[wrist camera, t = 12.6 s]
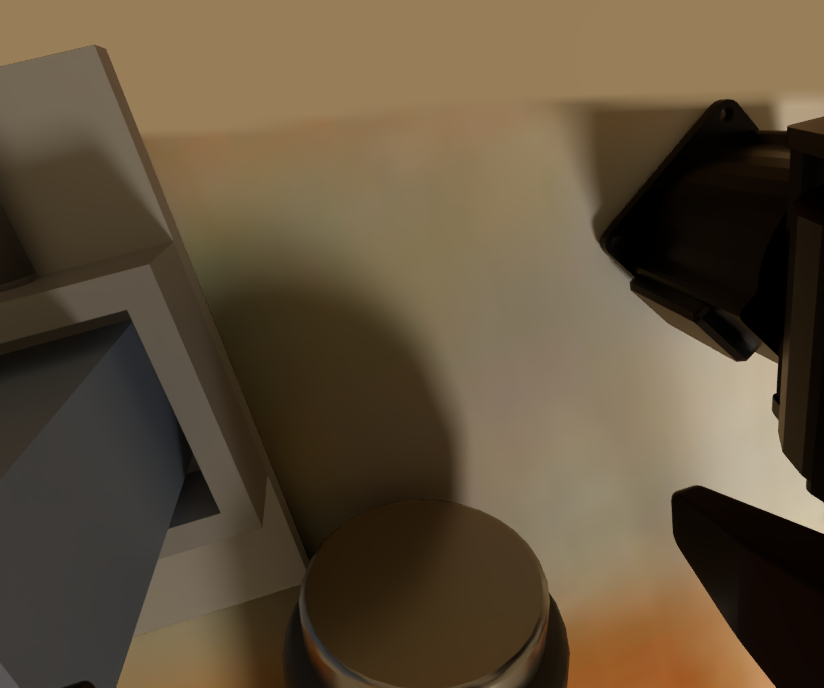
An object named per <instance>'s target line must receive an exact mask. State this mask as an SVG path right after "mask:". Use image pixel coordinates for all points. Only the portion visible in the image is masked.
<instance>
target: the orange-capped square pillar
mask: <svg viewBox="0 0 824 688" xmlns="http://www.w3.org/2000/svg"><path fill="white" fill-rule="evenodd" d="M192 455H193V452H192V450H191V447H190V445H189V443H188V441H187V439H186V436H185V434H184V432H183V430H182V428H181V426H180V423H179V421H178V419H177V417H176V415H175V413H174V410H173V408H172V406H171V404H170V402H169V400H168V397H167V395H166V393H165V391H164V389H163V387H162V384H161V382H160V380H159V378H158V376H157V373H156V371H155V369H154V367H153V365H152V363H151V360H150V358H149V356H148V354H147V352H146V350H145V347H144V345H143V343H142V341H141V339H140V337H139V334H138V332H137V330H136V328H135V326H134V324H133V321H132V319H130V320H126V321H122V322H119V323H115V324H111V325H108V326H104V327H100V328H97V329H93V330H90V331H86V332H82V333H79V334H75V335H71V336H68V337H64V338H60V339H57V340H53V341H50V342H46V343H42V344H39V345H35V346H31V347H28V348H24V349H20V350H17V351H13V352H9V353H6V354H2V355H0V688H61V687H64V686H68V685H71V684H74V683H77V682H80V681H86V680H87V681H89V682H91V683H93V684H94V686H95V687H96V688H116V686H117V683H118V680H119V677H120V674H121V671H122V668H123V665H124V662H125V659H126V656H127V652H128V649H129V646H130V643H131V640H132V637H133V634H134V631H135V628H136V625H137V622H138V619H139V616H140V613H141V610H142V607H143V604H144V601H145V598H146V595H147V592H148V589H149V586H150V582H151V579H152V576H153V573H154V570H155V567H156V564H157V561H158V558H159V555H160V552H161V549H162V546H163V543H164V540H165V537H166V534H167V531H168V528H169V525H170V522H171V519H172V515H173V512H174V509H175V506H176V503H177V500H178V497H179V494H180V491H181V488H182V485H183V482H184V479H185V476H186V473H187V470H188V467H189V464H190V461H191V458H192Z"/></svg>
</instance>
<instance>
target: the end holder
mask: <svg viewBox="0 0 824 688" xmlns="http://www.w3.org/2000/svg"><path fill="white" fill-rule="evenodd" d="M130 319H132V321H133V324H134V326H135V328H136V330H137V332H138V334H139V337H140V339H141V341H142V343H143V345H144V347H145V350H146V352H147V354H148V356H149V358H150V360H151V363H152V365H153V367H154V369H155V371H156V373H157V376H158V378H159V380H160V382H161V384H162V387H163V389H164V391H165V393H166V395H167V397H168V400H169V402H170V404H171V406H172V408H173V410H174V413H175V415H176V417H177V419H178V421H179V423H180V426H181V428H182V430H183V432H184V434H185V436H186V439H187V441H188V443H189V445H190V447H191V450H192V452H193V455H192V458H191V461H190V464H189V467H188V470H187V473H186V476H185V479H184V482H183V485H182V488H181V491H180V494H179V497H178V500H177V503H176V506H175V509H174V512H173V515H172V519H171V522H170V525H169V528H168V531H167V534H166V537H165V540H164V543H163V546H162V549H161V552H160V555H159V558H158V561H157V564H156V567H155V570H154V573H153V576H152V579H151V582H150V586H149V589H148V592H147V595H146V598H145V601H144V604H143V607H142V610H141V613H140V616H139V619H138V622H137V625H136V628H135V631H134V634H133V637H135V636H139V635H142V634H145V633H148V632H151V631H155V630H158V629H161V628H164V627H167V626H171V625H174V624H177V623H180V622H183V621H186V620H190V619H193V618H196V617H199V616H202V615H206V614H209V613H212V612H215V611H218V610H222V609H225V608H228V607H231V606H234V605H238V604H241V603H244V602H247V601H250V600H253V599H257V598H260V597H263V596H266V595H269V594H273V593H276V592H279V591H282V590H285V589H289V588H292V587H295V586H298V585H301V582H302V580H303V577H304V574H305V572H306V569H307V567H308V564H309V559H308V557H307V554H306V551H305V549H304V546H303V544H302V541H301V539H300V536H299V534H298V531H297V529H296V526H295V524H294V521H293V519H292V516H291V514H290V511H289V509H288V506H287V504H286V501H285V499H284V496H283V494H282V491H281V488H280V486H279V483H278V481H277V478H276V476H275V473H274V471H273V468H272V466H271V463H270V461H269V458H268V456H267V453H266V451H265V448H264V446H263V443H262V441H261V438H260V436H259V433H258V431H257V428H256V426H255V423H254V420H253V418H252V415H251V413H250V410H249V408H248V405H247V403H246V400H245V398H244V395H243V393H242V390H241V388H240V385H239V383H238V380H237V378H236V375H235V373H234V370H233V368H232V365H231V363H230V360H229V358H228V355H227V352H226V350H225V347H224V345H223V342H222V340H221V337H220V335H219V332H218V330H217V327H216V325H215V322H214V320H213V317H212V315H211V312H210V310H209V307H208V305H207V302H206V300H205V297H204V295H203V292H202V289H201V287H200V284H199V282H198V279H197V277H196V274H195V272H194V269H193V267H192V264H191V262H190V259H189V257H188V254H187V252H186V249H185V247H184V244H183V242H182V239H181V237H180V234H179V232H178V229H177V227H176V224H175V221H174V219H173V216H172V214H171V211H170V209H169V206H168V204H167V201H166V199H165V196H164V194H163V191H162V189H161V186H160V184H159V181H158V179H157V176H156V174H155V171H154V169H153V166H152V164H151V161H150V158H149V156H148V153H147V151H146V148H145V146H144V143H143V141H142V138H141V136H140V133H139V131H138V128H137V126H136V123H135V121H134V118H133V116H132V113H131V111H130V108H129V106H128V103H127V101H126V98H125V96H124V93H123V91H122V88H121V86H120V83H119V80H118V78H117V75H116V73H115V70H114V68H113V65H112V63H111V60H110V58H109V55H108V53H107V50H106V49H104V48H102V47H99V46H96V45H92V46H87V47H83V48H79V49H74V50H70V51H66V52H61V53H57V54H52V55H48V56H44V57H40V58H35V59H31V60H27V61H22V62H18V63H13V64H9V65H5V66H0V355H2V354H6V353H9V352H13V351H17V350H20V349H24V348H28V347H31V346H35V345H39V344H42V343H46V342H50V341H53V340H57V339H60V338H64V337H68V336H71V335H75V334H79V333H82V332H86V331H90V330H93V329H97V328H100V327H104V326H108V325H111V324H115V323H119V322H122V321H126V320H130Z"/></svg>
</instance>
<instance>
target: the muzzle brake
mask: <svg viewBox="0 0 824 688" xmlns="http://www.w3.org/2000/svg"><path fill="white" fill-rule="evenodd" d="M282 656H283V669H284V681H285V687H286V688H567V682H568V669H569V656H570V652H569V646H568V639H567V633H566V628H565V625H564V622H563V620H562V617H561V615H560V612H559V609H558V607H557V604H556V602H555V601H554V599H553V598H552V596H551V595H550V593H549V590H548V583H547V579H546V577H545V574H544V572H543V569H542V566H541V564H540V562H539V560H538V558H537V557H536V555H535V554H534V552H533V551H532V549H531V548H530V546H529V545H528V544H527V543H526V542H525V541H524V540H523V539H522V538H521V537H520V536H519V535H518V534H517V533H516V532H515V531H514V530H513V529H512V528H510V527H509V526H507V525H506V524H504V523H503V522H501V521H500V520H499V519H497V518H495V517H493V516H491V515H488V514H486V513H484V512H482V511H480V510H477V509H474V508H471V507H468V506H465V505H461V504H457V503H451V502H446V501H438V500H410V501H401V502H396V503H391V504H386V505H383V506H380V507H377V508H374V509H372V510H369V511H366V512H364V513H362V514H360V515H359V516H357V517H355V518H353V519H351V520H349V521H348V522H346V523H345V524H344V525H342V526H341V527H339V528H338V529H337V530H335V531H334V532H333V533H332V534H331V535H330V536H329V537H328V538H327V539H326V540H325V541H324V542H323V543H322V544H321V545H320V546H319V548H318V549H317V551H316V553H315V554H314V556H313V557H312V559H311V560H310V562H309V564H308V567H307V569H306V572H305V574H304V577H303V580H302V582H301V589H300V597H299V601H298V602H297V604H296V605H295V608H294V610H293V613H292V615H291V618H290V621H289V623H288V626H287V629H286V635H285V641H284V648H283V655H282Z"/></svg>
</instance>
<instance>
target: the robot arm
mask: <svg viewBox="0 0 824 688" xmlns="http://www.w3.org/2000/svg"><path fill="white" fill-rule="evenodd" d="M723 109H724V110H725V112H726V113H725V118H724V119H723V121H721V119H720V113H721V112H722V110H723ZM616 236H618V237H619V242H618V244H617V245H616V246H615V247H612V240H613V239H614V238H615V237H616ZM600 245H601V248H602V250H603V251H604V252H605V253H606V254H607V255H608V256H609V257H610V258H611V259H613V260H614V261H615V262H616V263H617V264H618V265H619V266H620V267H621V268H623V269H624V270H625V271H626V272H627V273H628V274H629V275H630V276H631V277H632V278H633V279H632V280H631V281H630V289H631V291H632V292H633V293H635V294H636V295H637V296H638V297H639V298H640V299H641V300H642V301H644V302H645V303H646V304H647V305H648V306H649V307H650V308H651V309H653V310H654V311H655V312H656V313H657V314H658V315H659V316H660V317H661V318H663V319H664V320H665V321H666V322H667V323H668V324H670V325H672V326H673V327H675V328H677V329H679V330H680V331H682V332H684V333H686V334H688V335H689V336H691V337H693V338H695V339H697V340H698V341H700V342H702V343H704V344H706V345H707V346H709V347H711V348H713V349H715V350H716V351H718V352H720V353H722V354H724V355H725V356H727V357H729V358H731V359H732V360H734V361H736V362H739V361H747V360H748V359H749V358H750V357H751V355H752V354H753V353H754V352H756V353H758V354H760V355H762V356H764V357H766V358H768V359H770V360H772V361H774V362H776V363H778V377H777V393H776V394H774V395H773V400H772V412H773V414H774V415H775V416H776V418H777V419H778V420H779V425H778V433H779V438H780V442H781V447H782V452H783V453H784V454H785V456H786V457H787V458H788V459H789V460H790V462H791V463H792V464H793V465H794V467H795V468H796V469H797V470H798V471H799V473H800V474H801V475H802V476H803V477H804V478H806V479H807V480H806V489H807V490H808V492H809V493H810V494H812V495H813V496H815V497H816V498H818V499H819V500H821V501H822V502H824V117H820V118H816V119H812V120H808V121H804V122H800V123H796V124H792V125H789V126H787V131H771V130H759V129H758V127H757V126H756V125H755V124H754V123H753V121H752V120H751V119H750V118H749V117H748V115H747V114H746V113H745V112H744V110H743V109H742V108H741V107H740V106H739V104H738V103H737V102H735V101H734V100H729V99H725V100H718V101H715V102H714V103H713V104H712V105H711V106H710V107H709V108H708V109H707V110H706V112H705V113H704V114H703V115H702V116H701V118H700V119H699V120H698V121H697V122H696V123H695V125H694V126H693V127H692V128H691V129H690V131H689V132H688V133H687V134H686V135H685V137H684V138H683V139H682V140H681V141H680V143H679V144H678V145H677V146H676V147H675V148H674V150H673V151H672V152H671V153H670V154H669V156H668V157H667V158H666V159H665V160H664V162H663V163H662V164H661V165H660V166H659V167H658V169H657V170H656V171H655V172H654V173H653V175H652V176H651V177H650V178H649V179H648V181H647V182H646V183H645V184H644V185H643V186H642V188H641V189H640V190H639V191H638V192H637V194H636V195H635V196H634V197H633V198H632V200H631V201H630V202H629V203H628V204H627V205H626V207H625V208H624V209H623V210H622V211H621V213H620V214H619V215H618V216H617V217H616V219H615V220H614V221H613V222H612V223H611V225H610V226H609V227H608V228H607V229H606V230H605V232H604V233H603V235H602V236H601V240H600ZM671 505H672V525H673V535H674V538H675V541H676V543H677V545H678V547H679V549H680V551H681V552H682V554H683V555H684V557H685V558H686V560H687V561H688V563H689V564H690V566H691V568H692V569H693V571H694V572H695V574H696V575H697V577H698V578H699V580H700V581H701V583H702V585H703V586H704V588H705V589H706V591H707V592H708V594H709V595H710V597H711V598H712V600H713V602H714V603H715V605H716V606H717V608H718V609H719V611H720V612H721V614H722V615H723V617H724V619H725V620H726V622H727V623H728V625H729V626H730V628H731V629H732V631H733V632H734V634H735V635H736V636H737V638H738V639H739V641H740V642H741V643H742V645H743V646H744V647H745V649H746V650H747V651H748V652H749V654H750V655H751V656H752V658H753V659H754V660H755V661H756V663H757V664H758V665H759V666H760V668H761V669H762V670H763V671H764V673H765V674H766V675H767V677H768V678H769V679H770V680H771V682H772V683H773V684H774V685H775V687H776V688H824V534H822V533H820V532H817V531H815V530H812V529H810V528H807V527H805V526H802V525H800V524H797V523H794V522H792V521H789V520H787V519H784V518H782V517H779V516H777V515H774V514H772V513H769V512H767V511H764V510H761V509H759V508H756V507H754V506H751V505H749V504H746V503H744V502H741V501H739V500H736V499H733V498H731V497H728V496H726V495H723V494H721V493H718V492H716V491H713V490H711V489H708V488H706V487H703V486H698V485H696V486H691V487H688V488H685V489H682V490H679V491H676V492H674V493H673V495H672V499H671ZM61 688H96V687H95V686H94V684H93V683H91V682H89V681H87V680H86V681H80V682H77V683H74V684H71V685H68V686H64V687H61Z"/></svg>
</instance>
